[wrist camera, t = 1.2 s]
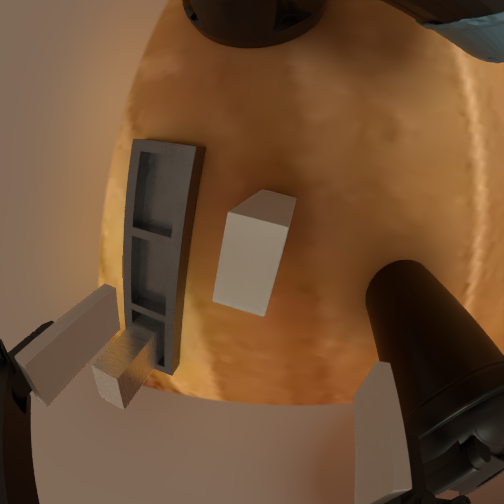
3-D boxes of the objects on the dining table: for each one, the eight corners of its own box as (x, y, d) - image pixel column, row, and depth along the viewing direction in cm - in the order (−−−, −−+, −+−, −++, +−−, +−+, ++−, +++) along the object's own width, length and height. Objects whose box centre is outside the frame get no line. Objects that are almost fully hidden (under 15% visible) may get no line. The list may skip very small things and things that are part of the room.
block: (262, 189, 26) (227, 211, 15) (297, 197, 26) (288, 227, 15) (249, 245, 28) (212, 301, 17) (282, 253, 28) (264, 316, 17)
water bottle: (401, 343, 29) (446, 510, 7) (340, 309, 29) (355, 519, 8) (452, 279, 25) (559, 427, 4) (393, 234, 25) (531, 412, 4)
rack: (144, 139, 27) (59, 139, 15) (205, 147, 26) (133, 143, 14) (135, 346, 38) (90, 398, 26) (179, 364, 37) (140, 426, 25)
